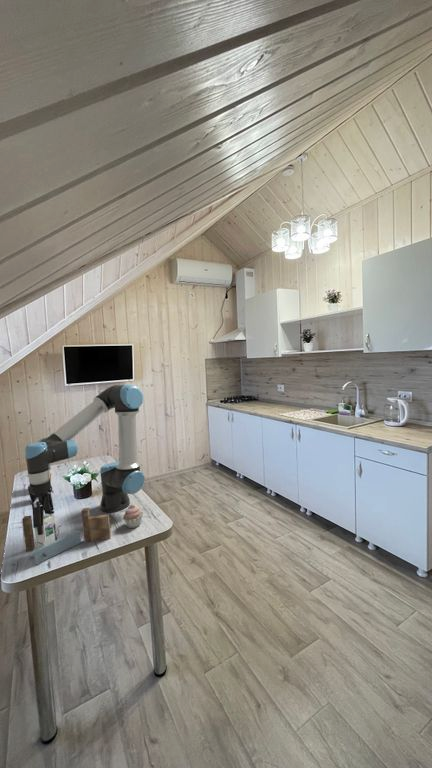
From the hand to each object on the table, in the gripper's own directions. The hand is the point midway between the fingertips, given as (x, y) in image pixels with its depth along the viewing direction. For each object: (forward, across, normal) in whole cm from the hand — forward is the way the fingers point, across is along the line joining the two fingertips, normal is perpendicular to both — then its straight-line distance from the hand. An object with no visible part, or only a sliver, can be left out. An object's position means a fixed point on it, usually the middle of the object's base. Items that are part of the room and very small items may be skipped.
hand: (46, 535), depth 129 cm
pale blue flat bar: (+7, +1, +5) cm, 9 cm away
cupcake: (+8, -13, +33) cm, 36 cm away
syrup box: (+7, 0, 0) cm, 7 cm away
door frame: (+8, -5, +7) cm, 12 cm away
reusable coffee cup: (+8, -76, -30) cm, 83 cm away
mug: (+8, -59, -24) cm, 65 cm away
